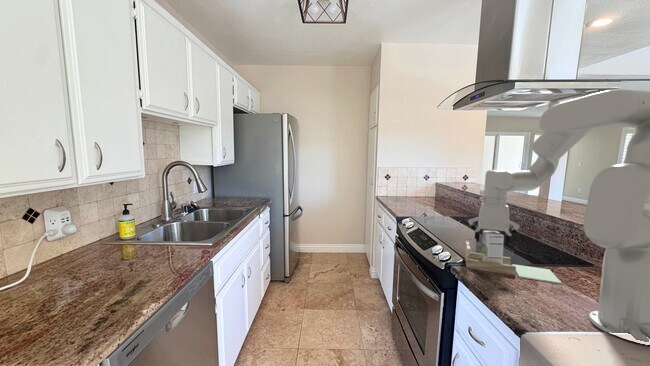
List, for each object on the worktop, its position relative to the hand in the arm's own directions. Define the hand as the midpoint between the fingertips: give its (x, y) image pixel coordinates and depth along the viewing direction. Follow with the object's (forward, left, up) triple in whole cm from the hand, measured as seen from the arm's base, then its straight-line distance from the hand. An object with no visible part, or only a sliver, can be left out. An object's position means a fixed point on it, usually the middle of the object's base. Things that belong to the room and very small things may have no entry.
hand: (491, 242), depth 102 cm
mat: (0, -14, -10) cm, 18 cm away
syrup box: (0, 0, -10) cm, 10 cm away
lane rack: (0, +1, -10) cm, 10 cm away
